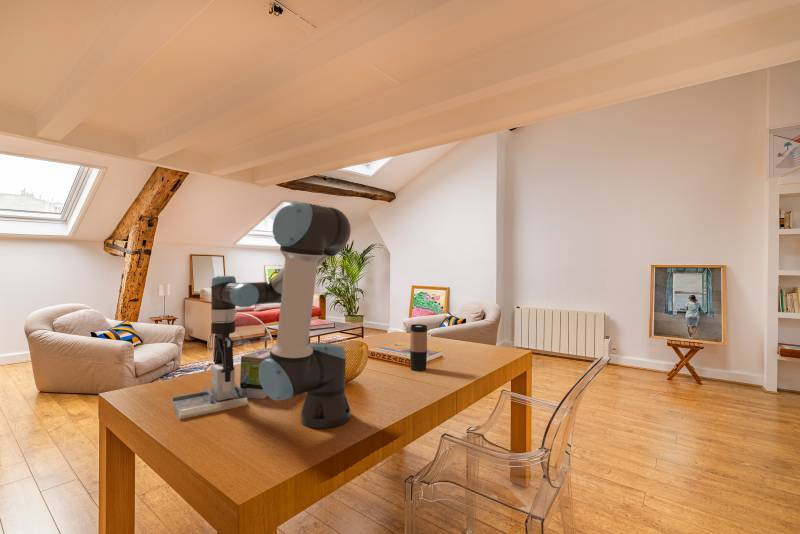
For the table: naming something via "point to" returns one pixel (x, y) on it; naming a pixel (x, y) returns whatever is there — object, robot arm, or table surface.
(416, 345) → the travel mug
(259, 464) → the table surface
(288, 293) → the robot arm
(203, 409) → the grey shallow tray
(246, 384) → the tea box
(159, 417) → the table surface
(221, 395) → the small box
